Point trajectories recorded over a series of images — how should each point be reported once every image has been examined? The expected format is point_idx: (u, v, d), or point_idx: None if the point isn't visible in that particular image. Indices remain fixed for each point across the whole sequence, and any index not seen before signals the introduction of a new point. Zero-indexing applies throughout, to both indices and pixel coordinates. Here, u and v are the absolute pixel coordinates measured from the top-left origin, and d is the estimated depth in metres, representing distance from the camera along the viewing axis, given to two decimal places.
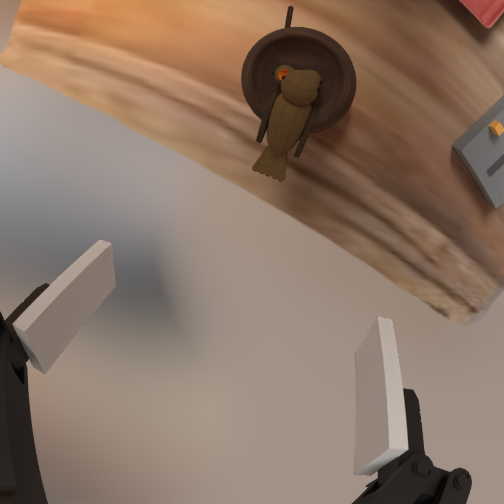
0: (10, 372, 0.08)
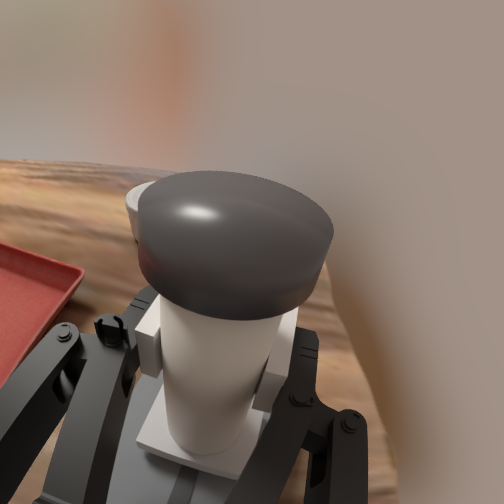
0: (117, 388, 0.09)
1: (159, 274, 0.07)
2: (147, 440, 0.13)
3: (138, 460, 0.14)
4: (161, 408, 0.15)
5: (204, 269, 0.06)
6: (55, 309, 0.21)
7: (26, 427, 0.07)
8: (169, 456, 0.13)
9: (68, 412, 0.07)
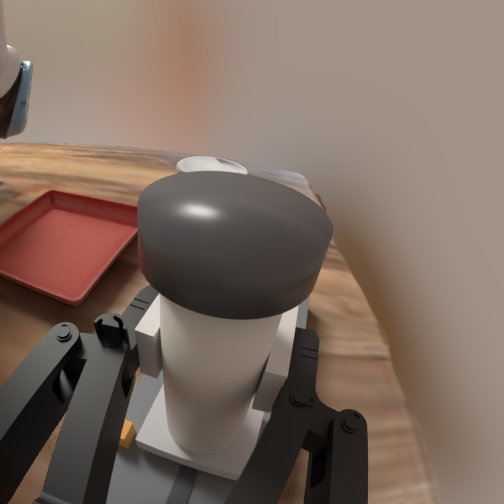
0: (117, 388, 0.09)
1: (159, 273, 0.07)
2: (147, 439, 0.13)
3: None
4: (161, 408, 0.15)
5: (203, 268, 0.06)
6: (136, 230, 0.33)
7: (26, 427, 0.07)
8: (169, 456, 0.13)
9: (68, 412, 0.07)
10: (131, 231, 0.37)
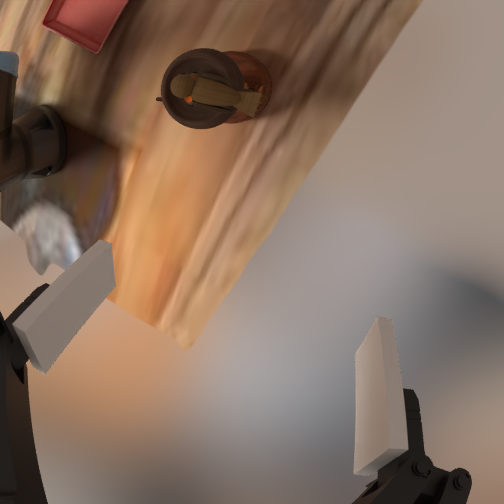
0: (10, 372, 0.08)
1: None
2: None
3: None
4: None
5: None
6: None
7: None
8: None
9: None
10: None
